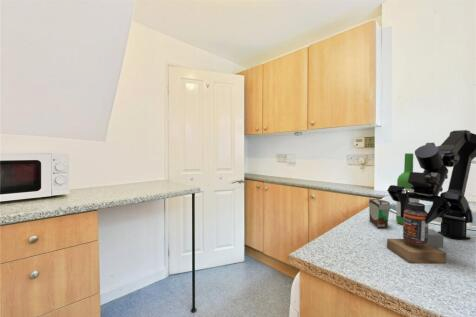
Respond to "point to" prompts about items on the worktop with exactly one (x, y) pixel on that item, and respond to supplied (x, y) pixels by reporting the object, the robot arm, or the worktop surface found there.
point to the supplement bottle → (415, 224)
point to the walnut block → (416, 251)
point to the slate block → (435, 238)
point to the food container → (379, 212)
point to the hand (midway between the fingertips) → (413, 219)
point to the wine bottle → (405, 184)
